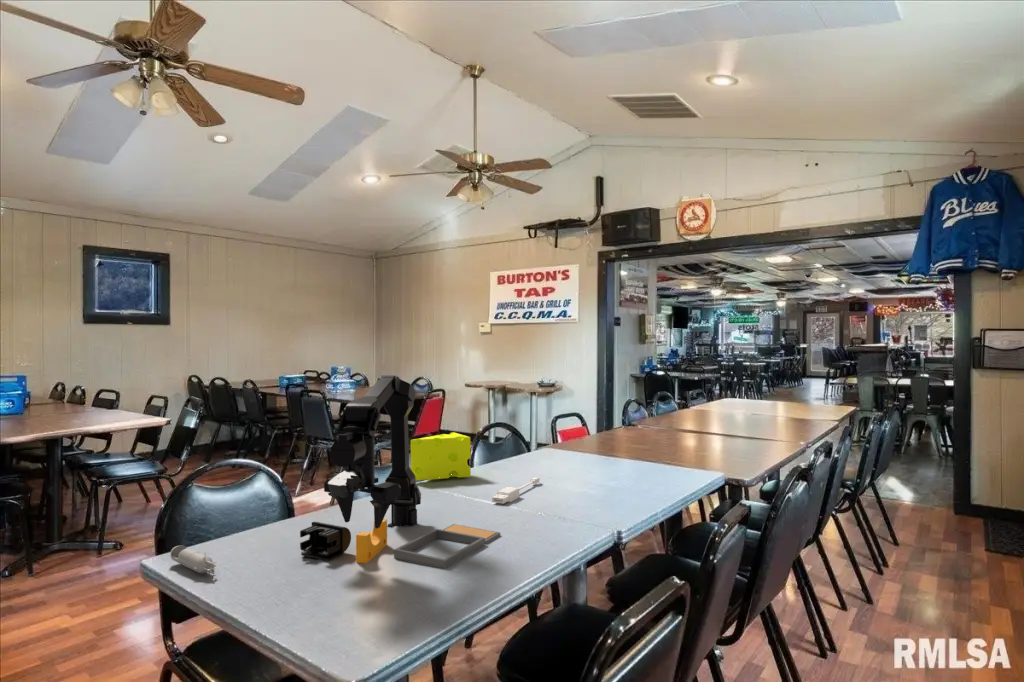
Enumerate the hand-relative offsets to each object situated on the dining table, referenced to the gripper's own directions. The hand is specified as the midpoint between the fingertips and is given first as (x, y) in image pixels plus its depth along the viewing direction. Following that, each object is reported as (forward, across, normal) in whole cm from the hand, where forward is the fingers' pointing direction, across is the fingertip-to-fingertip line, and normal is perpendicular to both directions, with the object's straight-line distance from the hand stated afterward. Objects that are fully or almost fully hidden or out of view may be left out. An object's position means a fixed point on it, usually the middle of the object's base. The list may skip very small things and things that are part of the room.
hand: (362, 525), depth 132 cm
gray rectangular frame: (+9, +12, +14) cm, 20 cm away
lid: (+9, +12, +26) cm, 30 cm away
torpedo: (+9, -32, -20) cm, 39 cm away
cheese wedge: (+9, -32, +79) cm, 86 cm away
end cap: (+9, -12, 0) cm, 15 cm away
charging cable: (+9, +4, +70) cm, 71 cm away
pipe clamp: (+9, -3, +5) cm, 11 cm away
